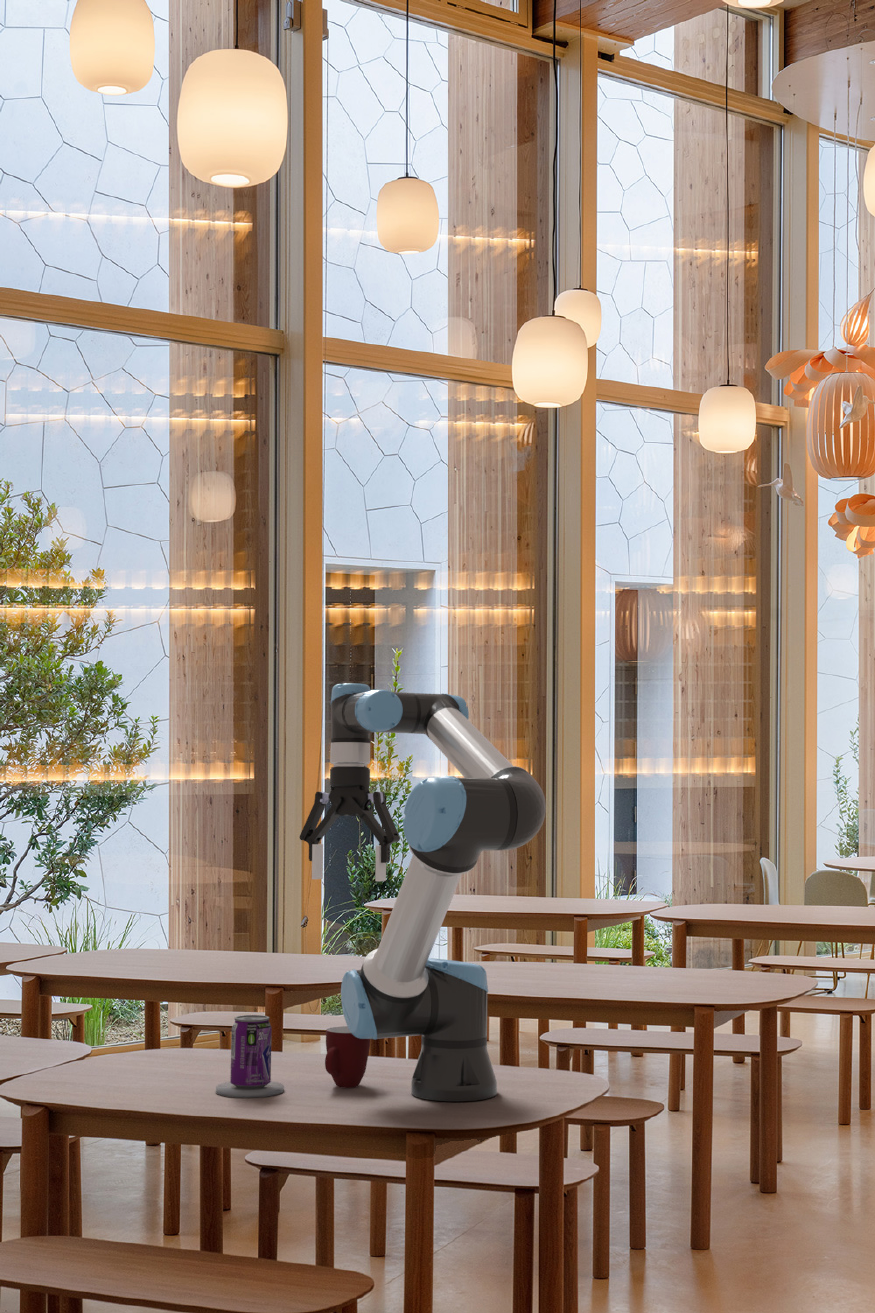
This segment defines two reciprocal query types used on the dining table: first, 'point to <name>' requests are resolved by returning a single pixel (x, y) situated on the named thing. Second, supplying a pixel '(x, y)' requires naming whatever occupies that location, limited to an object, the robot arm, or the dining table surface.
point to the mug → (346, 1056)
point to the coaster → (249, 1090)
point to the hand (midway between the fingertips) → (348, 880)
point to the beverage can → (251, 1052)
